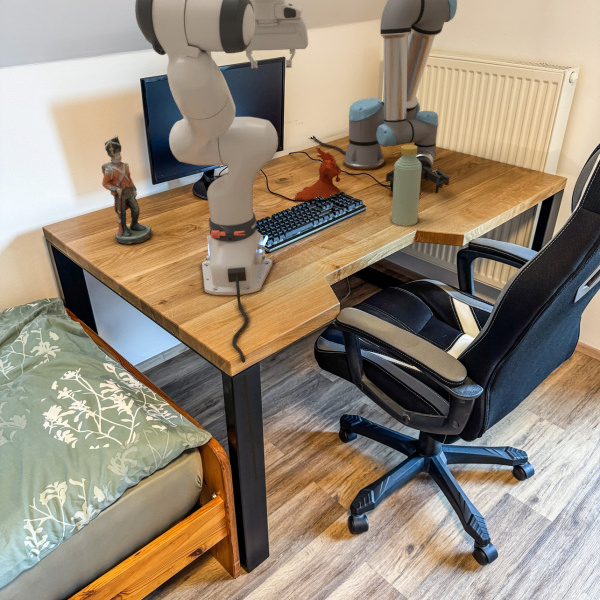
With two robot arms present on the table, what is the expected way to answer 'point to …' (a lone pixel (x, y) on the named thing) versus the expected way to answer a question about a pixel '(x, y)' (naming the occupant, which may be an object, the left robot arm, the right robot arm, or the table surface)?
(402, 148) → the cap
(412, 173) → the bottle
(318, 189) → the toy
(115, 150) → the figurine
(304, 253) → the table surface
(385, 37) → the right robot arm
